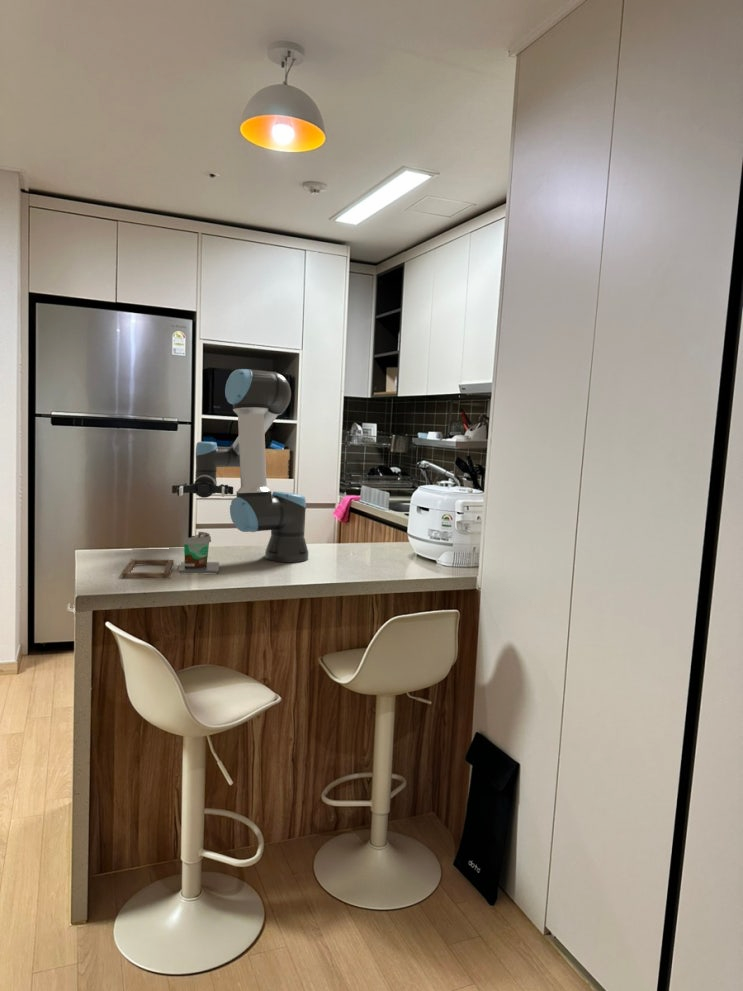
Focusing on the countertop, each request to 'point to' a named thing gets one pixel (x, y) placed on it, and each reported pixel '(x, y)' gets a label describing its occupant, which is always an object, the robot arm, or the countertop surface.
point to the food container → (196, 550)
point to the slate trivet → (210, 568)
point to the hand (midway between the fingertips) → (201, 492)
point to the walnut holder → (133, 562)
